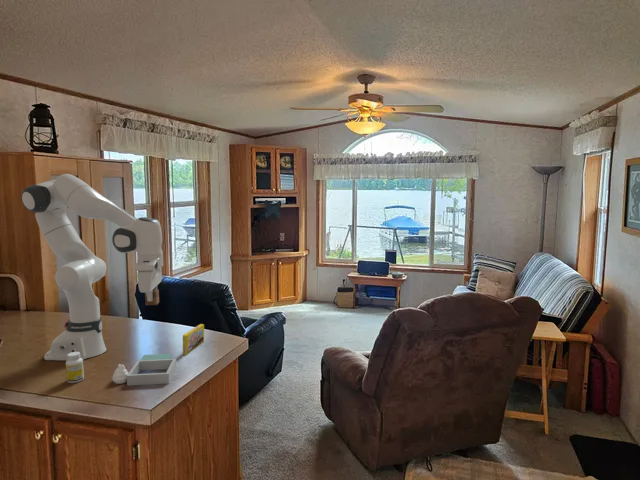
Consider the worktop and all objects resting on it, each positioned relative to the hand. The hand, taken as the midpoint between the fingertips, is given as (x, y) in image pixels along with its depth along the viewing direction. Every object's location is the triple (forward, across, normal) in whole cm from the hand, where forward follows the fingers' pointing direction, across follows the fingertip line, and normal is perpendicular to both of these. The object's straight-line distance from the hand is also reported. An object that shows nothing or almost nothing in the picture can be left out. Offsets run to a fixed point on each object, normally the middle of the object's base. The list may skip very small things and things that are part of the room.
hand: (152, 299), depth 168 cm
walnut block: (+2, 0, 0) cm, 2 cm away
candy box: (+28, -22, +11) cm, 37 cm away
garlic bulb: (+27, +9, -10) cm, 30 cm away
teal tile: (+27, -8, -2) cm, 28 cm away
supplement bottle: (+27, +6, -26) cm, 38 cm away
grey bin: (+27, +6, 0) cm, 28 cm away
